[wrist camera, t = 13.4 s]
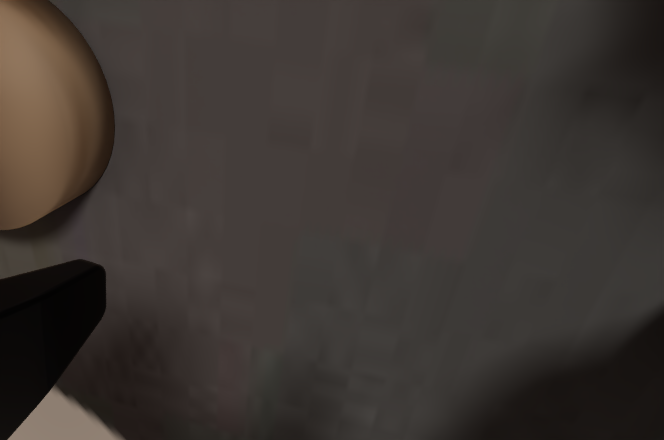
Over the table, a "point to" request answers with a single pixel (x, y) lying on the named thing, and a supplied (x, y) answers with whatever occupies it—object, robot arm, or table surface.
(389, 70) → the table surface
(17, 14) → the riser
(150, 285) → the table surface
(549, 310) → the table surface
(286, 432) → the table surface
